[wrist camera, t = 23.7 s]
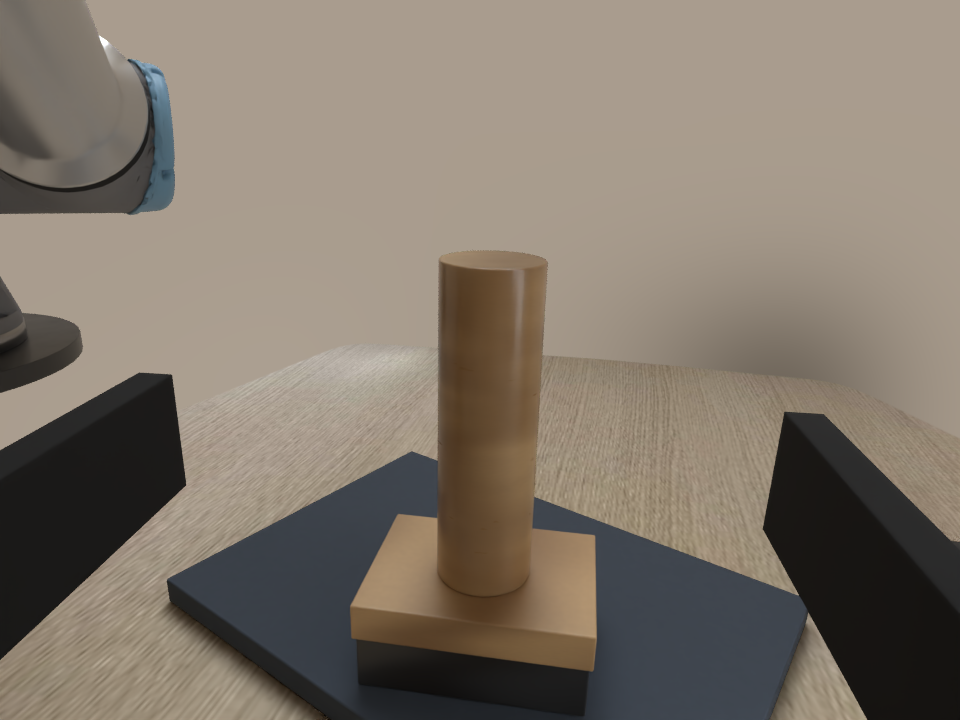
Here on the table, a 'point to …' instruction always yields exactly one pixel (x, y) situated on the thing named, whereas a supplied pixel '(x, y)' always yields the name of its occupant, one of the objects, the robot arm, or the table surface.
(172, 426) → the robot arm
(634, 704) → the scrub mat
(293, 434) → the table surface
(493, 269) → the wooden peg stand
